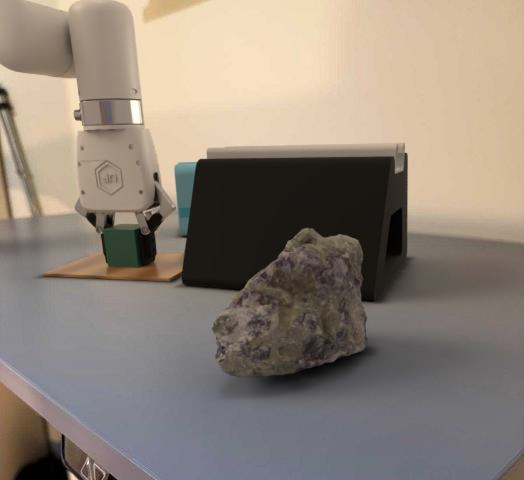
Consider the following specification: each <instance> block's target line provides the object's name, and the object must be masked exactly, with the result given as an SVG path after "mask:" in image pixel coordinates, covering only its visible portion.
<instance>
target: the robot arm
mask: <svg viewBox="0 0 524 480" xmlns="http://www.w3.org/2000/svg"><path fill="white" fill-rule="evenodd" d="M136 38H137V37H136V28H135V21H134V16H133V13H132V11H131V9H130V8H129V7H128V6H127V5H126V4H125V3H123V2H120V1H117V0H78V1H75V2H73V3H72V4H71V5H70V6H69V8H68V11H67V10H63V9H58V8H55V7H52V6H48V5H45V4H41V3H37V2H34V1H30V0H0V65H1V66H3V67H4V68H5V69H8V70H10V71H13V72H15V73H22V74H27V75H28V74H29V75H37V76H38V75H39V76H47V77H52V78H59V79H76V87H77V94H78V100H79V103H78V106H79V107H78V108H79V109H74V110H73V118H74V120H75V121H76V122H81V126H83V130H78V131H77V136H76V151H75V152H76V156H75V157H76V174H77V175H76V176H77V177H76V178H77V186H78V194H79V196H78V198H77V200H76V202H75V205H74V210H75V211H76V212H77V213H78V214H79V215H80V216H82V217H83V218H85V219H86V220H87V222H88V223H90V225H91V226H93V227H94V229H95V232H96V234H98V235H100V239H101V248H102V252H103V254H104V256H105V260H106V263H107V264H108V262H107V255H106V248H105V241H104V233H103V229H106V228H109V227H112V226H115V221H116V213H134V215H135V218H136V222H137V224H139V227H140V230H141V234H140V235H138V241H139V250H140V259H141V264H142V265H147V264H149V263H151V262H153V261H155V257H156V255H157V253H158V251H157V250H158V249H157V241H156V232H157V231H158V229H159V227H160V226H161V225H162V224H163V222H164V221H165V219H167V218H168V217H169V216H170V215H171V214H172V213H173V212H175V210H177V206H176V205H177V204H175V202H174V201H173V200H172V199H171V197H170V196H169V194H168V192H166V190H165V189H164V188H163V183H162V175H161V171H160V170H161V169H160V164H159V160H158V155H157V150H156V146H155V143H154V139H153V136H152V133H151V130H150V128H146V125H145V116H144V115H145V114H144V105H143V96H142V87H141V79H140V78H141V77H140V68H139V59H138V58H139V57H138V48H137V40H136ZM158 207H159V209H158V210H157V211H155V212H154V209H155V208H158Z"/></svg>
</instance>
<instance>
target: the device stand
mask: <svg viewBox="0 0 524 480" xmlns="http://www.w3.org/2000/svg"><path fill="white" fill-rule="evenodd" d="M405 151H406V142H379V143H378V142H376V143H375V142H374V143H369V142H368V143H337V144H336V143H332V144H331V143H329V144H327V143H326V144H285V145H283V144H281V145H241V146H240V145H239V146H235V145H234V146H224V147H208V148H206V158H199V159H198V160H197V161H196V162H197V164H196V168H195V176H194V184H193V191H192V199H191V207H190V214H189V222H188V230H187V236H186V237H185V244H184V245H185V246H184V252H183V254H184V261H183V268H182V274H181V275H180V276H181V278H180V279H181V282H182V284H183V285H185V286H194V287H206V288H207V287H208V288H220V289H230V290H231V289H232V290H242V289H244V287H245V286H246V284H247V282H248V281H249V280H250V279H251V278H252V277H254V276H255V275H256V274H257V273H259V272H260V271H261V270H263V269H265V268H266V267H267V266H268V265H269V264H271V263H272V262H273V261H275V260H276V259H277V258H278V256H279V255H280V253H281V252H282V251H283V250H284V249H285V247H286V244H287V242H288V241H289V240H292V239H293V238H294V237H295V236H296V235H297V234H298V233H299V232H300V231H301V230H302V229H305V228H309V229H312V228H313V229H314V230H315V231H316V232H317V233H318V234H319V235H321V236H322V237H324V238H326V237H330V236H337V235H339V234H341V235H346V236H349V237H351V238H354V239H356V240H358V241H359V243H360V245H361V248H362V252H363V261H362V264H361V275H362V277H363V282H362V286H361V287H360V292H361V301H362V300H363V301H373V302H376V300H377V299H378V298H379V296H380V295H381V294H382V292H383V290H384V289H385V288H386V287H387V285H388V284H389V283H390V281H391V280H392V279H393V277H394V276H395V274H396V273H397V271H398V270H399V269H400V267H401V266H402V265H403V263H404V262H405V260H406V259H407V255H408V212H409V211H408V209H409V207H408V206H409V205H408V204H409V203H408V200H409V199H408V198H409V195H408V194H409V192H408V191H409V189H408V188H409V187H408V186H409V183H408V182H409V155H408V152H405Z"/></svg>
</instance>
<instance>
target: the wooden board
mask: <svg viewBox="0 0 524 480" xmlns="http://www.w3.org/2000/svg"><path fill="white" fill-rule="evenodd" d="M183 261H184V253H165V252H164V253H163V252H157V255H156V257H155V261H153V262H151V263H149V264H147V265H143V266H141V267H139V268H136V267H109V266H108V264H107V263H106V260H105V256H104V254H103V251H98V252H96V253H93V254H90V255H88V256H84V257H82V258H80V259H77V260H74V261H72V262H69V263H65V264H63V265H61V266H58V267H56V268H53V269H50V270H47V271H45V272H43V273H42V275H43V277H54V278H55V277H56V278H77V279H78V278H79V279H102V280H123V281H124V280H125V281H147V282H171V281H173V280H175V279H177V278H179V277H180V276H182V268H183Z"/></svg>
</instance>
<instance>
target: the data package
mask: <svg viewBox="0 0 524 480" xmlns="http://www.w3.org/2000/svg"><path fill="white" fill-rule="evenodd" d="M196 164H197V161H191V162H190V161H185V162H184V161H182V162H178V163H177V164H175V165H174V168H173V169H174V182H175V183H174V184H175V193H176V205H177V206H176V209H177V216H178V218H177V219H178V228H179V229H178V230H179V235H180V237H187V230H188V222H189V214H190V207H191V199H192V191H193V184H194V176H195V168H196Z"/></svg>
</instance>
